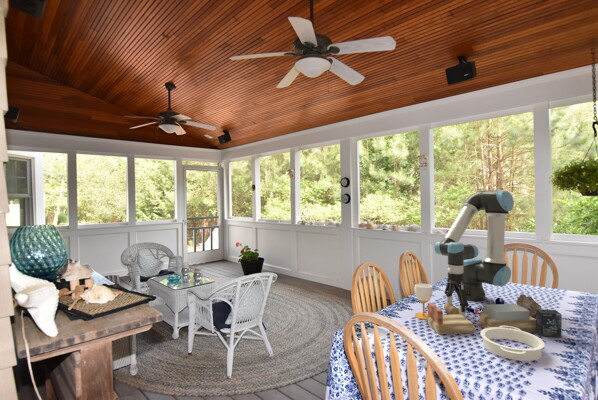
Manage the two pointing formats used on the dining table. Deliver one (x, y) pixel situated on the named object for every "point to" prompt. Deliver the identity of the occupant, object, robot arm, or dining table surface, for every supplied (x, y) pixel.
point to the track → (463, 325)
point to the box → (548, 323)
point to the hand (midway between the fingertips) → (455, 313)
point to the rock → (528, 304)
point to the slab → (506, 312)
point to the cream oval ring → (516, 336)
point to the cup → (423, 297)
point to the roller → (451, 309)
